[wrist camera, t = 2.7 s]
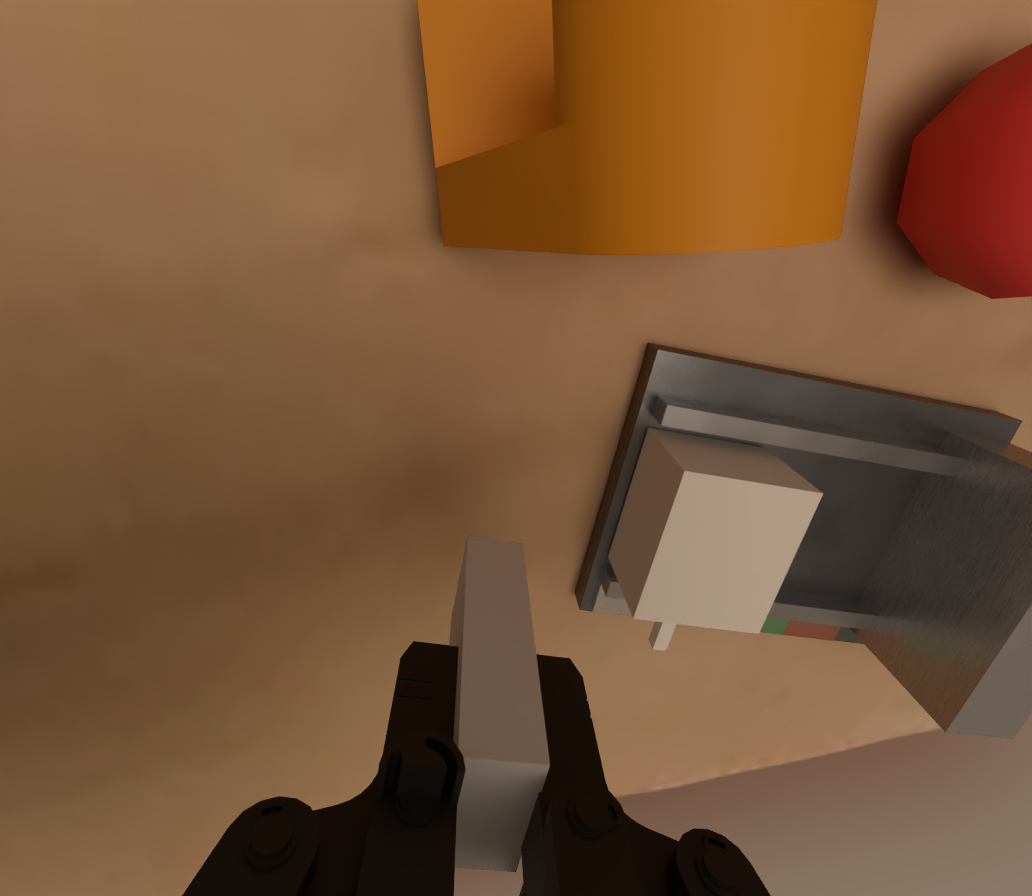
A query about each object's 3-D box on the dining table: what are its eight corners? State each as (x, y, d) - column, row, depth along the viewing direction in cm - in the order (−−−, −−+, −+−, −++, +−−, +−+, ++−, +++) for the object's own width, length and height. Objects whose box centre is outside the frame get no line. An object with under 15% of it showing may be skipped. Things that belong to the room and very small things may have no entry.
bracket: (763, -27, 17) (1277, -457, 6) (741, 221, 20) (1069, 225, 9) (420, -10, 17) (324, -441, 6) (447, 242, 20) (416, 273, 9)
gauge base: (574, 592, 26) (610, 722, 19) (648, 343, 22) (727, 398, 15) (875, 630, 28) (999, 757, 22) (996, 411, 24) (1198, 486, 17)
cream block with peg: (591, 608, 25) (612, 677, 21) (648, 427, 21) (684, 470, 18) (695, 621, 25) (733, 689, 22) (765, 447, 22) (823, 493, 19)
